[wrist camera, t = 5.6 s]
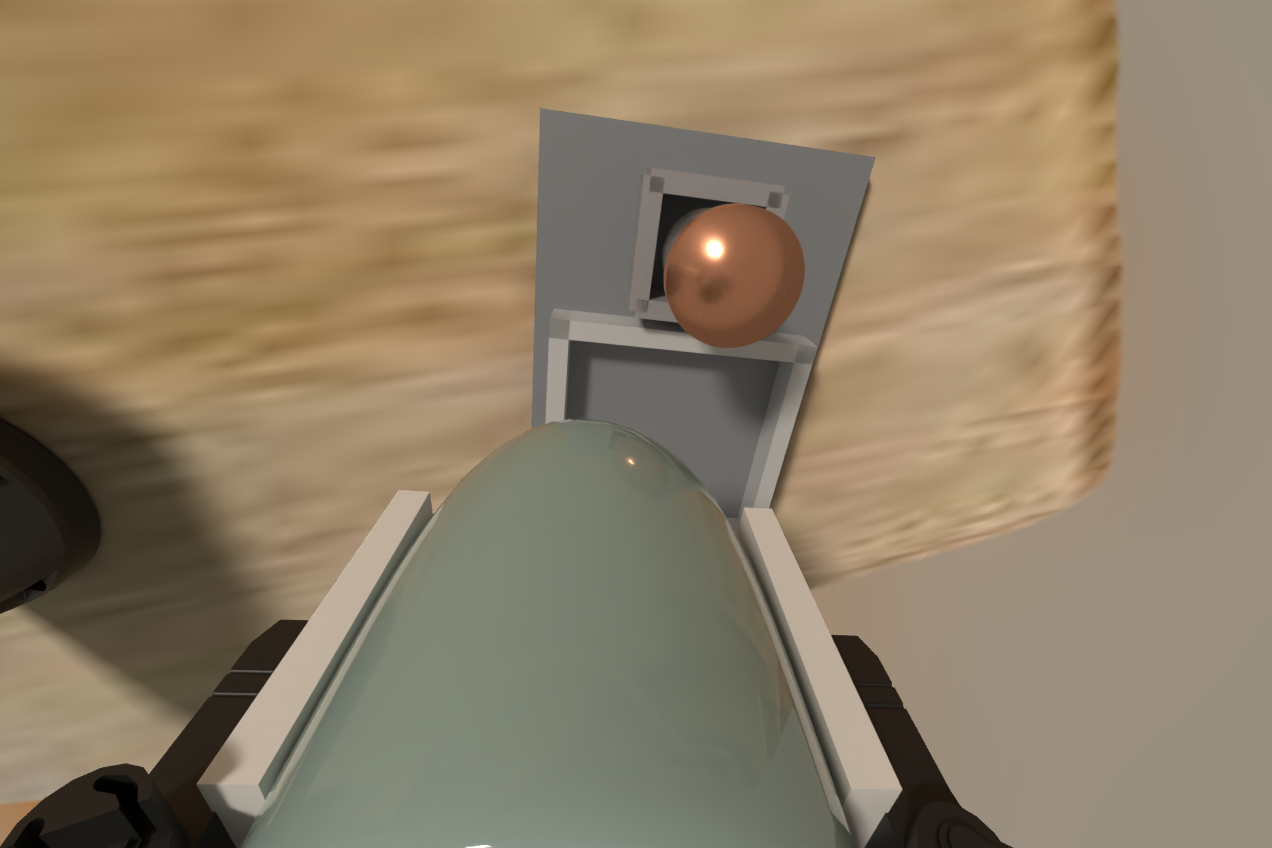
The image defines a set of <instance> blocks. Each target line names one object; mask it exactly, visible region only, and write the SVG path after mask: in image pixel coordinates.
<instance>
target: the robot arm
mask: <svg viewBox="0 0 1272 848" xmlns="http://www.w3.org/2000/svg"><path fill="white" fill-rule="evenodd" d="M432 516H433V513H432V505H431V497H430V492H423V491H402V490H398V492H397V493H396V495H395V496H394V498H393V499H392V501H391V502H390V504H389V505H388V506H387V508H386V509H385V511H384V512H383V514H382V515H381V517H380V518H379V519H378V521H377V522H376V524H375V525H374V527H373V528H372V530H371V531H370V533H369V534H368V535H367V537H366V538H365V540H364V541H363V543H362V544H361V546H360V547H359V549H358V550H357V551H356V553H355V554H354V556H353V557H352V559H351V560H350V562H349V563H348V565H347V566H346V567H345V569H344V570H343V572H342V573H341V575H340V576H339V578H338V579H337V581H336V582H335V583H334V585H333V586H332V588H331V589H330V591H329V592H328V594H327V595H326V597H325V598H324V599H323V601H322V602H321V604H320V605H319V607H318V608H317V610H316V611H315V612H314V614H313V615H312V617H311V618H310V620H280V621H278V622H277V623H276V624H274V625H273V626H272V627H271V628H269V629H268V630H267V631H265V632H264V633H263V634H262V635H260V636H259V637H258V638H256V639H255V640H254V641H253V642H252V643H251V644H250V645H249V646H248V648H247V649H246V650H245V652H244V653H243V654H242V655H241V657H240V658H239V659H238V661H237V662H236V663H235V664H234V666H233V667H232V668H231V672H230V674H227V675H226V676H225V677H224V679H223V680H222V681H221V682H220V684H219V685H218V686H217V688H216V689H215V690H214V694H213V696H212V697H209V698H208V699H207V700H206V702H205V703H204V704H203V705H202V707H201V708H200V709H199V711H198V712H197V713H196V714H195V716H194V717H193V718H192V720H191V721H190V722H189V723H188V725H187V726H186V727H185V729H184V730H183V731H182V732H181V734H180V735H179V736H178V738H177V739H176V740H175V741H174V743H173V744H172V745H171V747H170V748H169V749H168V750H167V752H166V753H165V754H164V756H163V757H162V758H161V759H160V761H159V762H158V763H157V765H156V766H155V767H154V768H153V770H152V771H151V772H150V774H148V773H147V772H146V770H145V769H144V768H143V767H140V766H135V765H131V764H126V763H125V764H120V765H114V766H108V767H103V768H100V769H97V770H95V771H93V772H90V773H88V774H86V775H83V776H81V777H79V778H76V779H74V780H72V781H71V782H69V783H68V784H66V785H65V786H63V787H61V788H60V789H58V790H57V791H55V792H54V793H52V794H51V795H49V796H48V797H46V798H45V799H43V800H42V801H41V802H40V803H39V804H38V805H37V806H36V807H35V808H33V809H32V810H31V811H30V812H29V813H28V814H27V815H26V816H25V817H24V818H22V819H21V820H20V821H19V822H18V823H17V824H16V826H15V827H14V828H13V830H12V831H11V833H10V834H9V835H8V837H7V838H6V839H5V841H4V842H3V844H2V845H1V846H0V848H240V847H241V845H242V843H243V841H244V840H245V838H246V836H247V834H248V832H249V830H250V828H251V826H252V824H253V822H254V820H255V818H256V817H257V815H258V813H259V811H260V809H261V807H262V805H263V804H264V802H265V800H266V798H267V796H268V794H269V793H270V791H271V789H272V787H273V785H274V783H275V782H276V780H277V778H278V776H279V774H280V772H281V771H282V769H283V767H284V765H285V763H286V761H287V760H288V758H289V756H290V754H291V752H292V751H293V749H294V747H295V745H296V743H297V742H298V740H299V738H300V736H301V734H302V733H303V731H304V729H305V727H306V725H307V724H308V722H309V720H310V718H311V716H312V715H313V713H314V711H315V709H316V707H317V706H318V704H319V702H320V700H321V698H322V697H323V695H324V693H325V691H326V690H327V688H328V686H329V684H330V682H331V681H332V679H333V677H334V675H335V673H336V672H337V670H338V668H339V666H340V664H341V663H342V661H343V659H344V657H345V656H346V654H347V652H348V650H349V649H350V647H351V645H352V643H353V642H354V640H355V638H356V636H357V635H358V633H359V631H360V629H361V628H362V626H363V624H364V622H365V620H366V619H367V617H368V615H369V613H370V612H371V610H372V608H373V607H374V605H375V603H376V602H377V600H378V598H379V597H380V595H381V593H382V592H383V590H384V588H385V587H386V585H387V583H388V582H389V580H390V578H391V576H392V575H393V573H394V572H395V570H396V569H397V567H398V565H399V564H400V562H401V561H402V559H403V558H404V556H405V554H406V553H407V551H408V550H409V548H410V547H411V545H412V544H413V542H414V541H415V539H416V538H417V536H418V535H419V534H420V532H421V531H422V529H423V528H424V527H425V525H426V524H427V522H428V521H429V520H430V518H431V517H432ZM737 536H738V538H739V541H740V543H741V545H742V547H743V549H744V551H745V553H746V555H747V557H748V559H749V561H750V564H751V566H752V568H753V571H754V573H755V575H756V578H757V580H758V582H759V585H760V587H761V589H762V592H763V594H764V597H765V599H766V602H767V604H768V607H769V609H770V612H771V615H772V617H773V620H774V622H775V625H776V627H777V630H778V633H779V635H780V638H781V641H782V643H783V646H784V649H785V651H786V654H787V657H788V659H789V662H790V665H791V667H792V670H793V673H794V676H795V678H796V681H797V684H798V687H799V689H800V692H801V695H802V698H803V700H804V703H805V706H806V709H807V711H808V714H809V717H810V720H811V723H812V725H813V728H814V731H815V734H816V736H817V739H818V742H819V745H820V747H821V750H822V753H823V756H824V759H825V761H826V764H827V767H828V770H829V773H830V776H831V778H832V781H833V784H834V787H835V790H836V793H837V795H838V798H839V801H840V804H841V807H842V810H843V813H844V816H845V819H846V822H847V825H848V828H849V831H850V834H851V837H852V840H853V843H854V846H855V848H1013V847H1011V846H1008V845H1006V844H1004V843H1002V842H1000V840H999V839H998V837H997V836H996V835H995V833H994V832H993V831H992V830H990V829H989V828H988V827H987V826H986V825H985V824H984V823H983V822H982V821H981V820H980V819H979V818H978V817H977V816H975V815H973V814H972V813H970V812H968V811H966V810H965V809H963V808H962V807H961V806H960V805H959V803H958V802H957V800H956V798H955V797H954V795H953V794H952V792H951V791H950V789H949V787H948V785H947V784H946V782H945V780H944V778H943V776H942V774H941V772H940V771H939V769H938V767H937V765H936V763H935V761H934V760H933V758H932V756H931V754H930V752H929V750H928V748H927V747H926V745H925V743H924V741H923V739H922V737H921V735H920V734H919V732H918V730H917V728H916V726H915V724H914V723H913V721H912V719H911V717H910V715H909V713H908V711H907V710H906V709H904V707H903V702H902V701H901V699H900V697H899V695H898V693H897V691H896V689H895V688H893V687H892V682H891V680H890V678H889V676H888V675H887V673H886V671H885V669H884V667H883V665H882V664H881V662H880V660H879V658H878V657H877V656H876V655H875V654H874V653H873V652H872V651H871V650H870V648H868V646H867V645H866V644H865V643H864V642H863V641H862V640H861V639H860V638H859V637H858V636H848V635H830V632H829V630H828V628H827V626H826V624H825V622H824V620H823V617H822V615H821V613H820V611H819V609H818V607H817V605H816V603H815V600H814V598H813V596H812V594H811V592H810V589H809V587H808V585H807V583H806V581H805V579H804V577H803V574H802V572H801V570H800V568H799V566H798V564H797V562H796V559H795V557H794V555H793V553H792V551H791V549H790V547H789V544H788V542H787V540H786V538H785V536H784V534H783V531H782V529H781V527H780V525H779V523H778V521H777V519H776V516H775V514H774V512H773V510H772V509H767V508H747V507H744V508H743V513H742V517H741V521H740V526H739V530H738V534H737ZM98 542H99V524H98V520H97V516H96V513H95V510H94V508H93V505H92V503H91V501H90V500H89V498H88V496H87V494H86V493H85V491H84V490H83V488H82V487H81V485H80V484H79V483H78V481H77V480H76V479H75V478H74V476H73V475H72V474H71V473H70V472H69V471H68V470H67V469H66V468H65V467H64V466H63V465H62V464H61V463H60V462H59V461H58V460H57V459H56V458H55V457H54V456H53V455H51V454H50V453H49V452H48V451H47V450H45V449H44V448H43V447H42V446H40V445H39V444H38V443H36V442H35V441H34V440H32V439H31V438H29V437H28V436H26V435H25V434H23V433H22V432H20V431H18V430H17V429H15V428H14V427H12V426H10V425H8V424H7V423H5V422H3V421H1V420H0V614H1V613H4V612H6V611H8V610H11V609H13V608H15V607H18V606H20V605H22V604H24V603H27V602H30V601H32V600H34V599H36V598H39V597H41V596H43V595H44V594H46V593H48V592H50V591H51V590H53V589H54V588H56V587H57V586H58V585H60V584H61V583H62V582H64V581H65V580H67V579H68V578H69V577H71V576H72V575H73V574H75V573H76V572H77V571H79V570H80V569H81V568H83V567H84V566H85V565H86V564H87V563H88V562H89V561H90V560H91V558H92V557H93V555H94V554H95V551H96V549H97V546H98Z"/></svg>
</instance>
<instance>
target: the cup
mask: <svg viewBox="0 0 1272 848" xmlns="http://www.w3.org/2000/svg"><path fill="white" fill-rule="evenodd" d="M240 848H855V846H854V843H853V840H852V837H851V834H850V831H849V828H848V825H847V822H846V819H845V816H844V813H843V810H842V807H841V804H840V801H839V798H838V795H837V793H836V790H835V787H834V784H833V781H832V778H831V776H830V773H829V770H828V767H827V764H826V761H825V759H824V756H823V753H822V750H821V747H820V745H819V742H818V739H817V736H816V734H815V731H814V728H813V725H812V723H811V720H810V717H809V714H808V711H807V709H806V706H805V703H804V700H803V698H802V695H801V692H800V689H799V687H798V684H797V681H796V678H795V676H794V673H793V670H792V667H791V665H790V662H789V659H788V657H787V654H786V651H785V649H784V646H783V643H782V641H781V638H780V635H779V633H778V630H777V627H776V625H775V622H774V620H773V617H772V615H771V612H770V609H769V607H768V604H767V602H766V599H765V597H764V594H763V592H762V589H761V587H760V585H759V582H758V580H757V578H756V575H755V573H754V571H753V568H752V566H751V564H750V561H749V559H748V557H747V555H746V553H745V551H744V549H743V547H742V545H741V543H740V541H739V538H738V536H737V534H736V533H735V531H734V529H733V527H732V526H731V524H730V522H729V521H728V519H727V517H726V515H725V514H724V512H723V511H722V509H721V507H720V506H719V504H718V503H717V501H716V500H715V498H714V497H713V495H712V493H711V492H710V491H709V489H708V488H707V487H706V485H705V484H704V483H703V481H702V480H701V479H700V478H699V477H698V476H697V475H696V474H695V473H694V472H693V471H692V470H691V469H690V467H689V466H688V465H687V464H686V463H685V462H684V461H683V460H681V459H680V458H679V457H678V456H677V455H676V454H675V453H673V452H672V451H670V450H669V449H668V448H666V447H665V446H663V445H662V444H661V443H659V442H658V441H657V440H655V439H654V438H651V437H649V436H647V435H645V434H643V433H641V432H639V431H637V430H635V429H633V428H631V427H628V426H624V425H621V424H617V423H613V422H610V421H606V420H597V419H585V418H575V419H568V420H560V421H553V422H550V423H547V424H544V425H541V426H538V427H535V428H533V429H530V430H527V431H525V432H524V433H522V434H520V435H518V436H517V437H515V438H513V439H512V440H510V441H508V442H506V443H505V444H503V445H501V446H500V447H498V448H497V449H495V450H494V451H493V452H491V453H490V454H489V455H488V456H487V457H486V458H484V459H483V460H482V461H481V462H480V463H479V464H477V465H476V466H475V467H474V468H473V469H472V470H471V471H470V472H469V473H468V474H467V475H466V476H465V477H464V478H463V479H462V480H461V481H460V482H459V483H458V484H457V486H456V487H455V488H454V489H453V491H452V492H451V493H450V494H449V496H448V497H447V498H446V499H445V501H444V502H443V503H442V504H441V506H440V507H439V508H438V509H437V511H436V512H435V513H434V514H433V516H432V517H431V518H430V520H429V521H428V522H427V524H426V525H425V527H424V528H423V529H422V531H421V532H420V534H419V535H418V536H417V538H416V539H415V541H414V542H413V544H412V545H411V547H410V548H409V550H408V551H407V553H406V554H405V556H404V558H403V559H402V561H401V562H400V564H399V565H398V567H397V569H396V570H395V572H394V573H393V575H392V576H391V578H390V580H389V582H388V583H387V585H386V587H385V588H384V590H383V592H382V593H381V595H380V597H379V598H378V600H377V602H376V603H375V605H374V607H373V608H372V610H371V612H370V613H369V615H368V617H367V619H366V620H365V622H364V624H363V626H362V628H361V629H360V631H359V633H358V635H357V636H356V638H355V640H354V642H353V643H352V645H351V647H350V649H349V650H348V652H347V654H346V656H345V657H344V659H343V661H342V663H341V664H340V666H339V668H338V670H337V672H336V673H335V675H334V677H333V679H332V681H331V682H330V684H329V686H328V688H327V690H326V691H325V693H324V695H323V697H322V698H321V700H320V702H319V704H318V706H317V707H316V709H315V711H314V713H313V715H312V716H311V718H310V720H309V722H308V724H307V725H306V727H305V729H304V731H303V733H302V734H301V736H300V738H299V740H298V742H297V743H296V745H295V747H294V749H293V751H292V752H291V754H290V756H289V758H288V760H287V761H286V763H285V765H284V767H283V769H282V771H281V772H280V774H279V776H278V778H277V780H276V782H275V783H274V785H273V787H272V789H271V791H270V793H269V794H268V796H267V798H266V800H265V802H264V804H263V805H262V807H261V809H260V811H259V813H258V815H257V817H256V818H255V820H254V822H253V824H252V826H251V828H250V830H249V832H248V834H247V836H246V838H245V840H244V841H243V843H242V845H241V847H240Z"/></svg>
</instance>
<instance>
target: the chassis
mask: <svg viewBox="0 0 1272 848" xmlns="http://www.w3.org/2000/svg"><path fill="white" fill-rule="evenodd" d="M874 161H875V157H870V156H863V155H856V154H849V153H842V152H836V151H829V150H822V149H815V148H808V147H801V146H795V145H788V144H781V143H774V142H767V141H760V140H754V139H747V138H740V137H733V136H726V135H719V134H713V133H706V132H699V131H692V130H685V129H678V128H672V127H665V126H658V125H651V124H644V123H637V122H631V121H624V120H617V119H610V118H603V117H596V116H590V115H583V114H576V113H569V112H562V111H555V110H549V109H542V108H540V142H539V179H538V216H537V254H536V291H535V328H534V365H533V403H532V429H533V428H535V427H538V426H541V425H544V424H547V423H550V422H553V421H560V420H568V419H575V418H585V419H597V420H606V421H610V422H613V423H617V424H621V425H624V426H628V427H631V428H633V429H635V430H637V431H639V432H641V433H643V434H645V435H647V436H649V437H651V438H654V439H655V440H657V441H658V442H659V443H661V444H662V445H663V446H665V447H666V448H668V449H669V450H670V451H672V452H673V453H675V454H676V455H677V456H678V457H679V458H680V459H681V460H683V461H684V462H685V463H686V464H687V465H688V466H689V467H690V469H691V470H692V471H693V472H694V473H695V474H696V475H697V476H698V477H699V478H700V479H701V480H702V481H703V483H704V484H705V485H706V487H707V488H708V489H709V491H710V492H711V493H712V495H713V497H714V498H715V500H716V501H717V503H718V504H719V506H720V507H721V509H722V511H723V512H724V514H725V515H726V517H727V519H728V521H729V522H730V524H731V526H732V527H733V529H734V531H735V533H736V534H738V530H739V526H740V521H741V517H742V513H743V508H744V507H747V508H767V509H770V505H771V502H772V499H773V495H774V492H775V489H776V485H777V482H778V479H779V475H780V472H781V469H782V465H783V462H784V459H785V456H786V452H787V449H788V446H789V442H790V439H791V436H792V432H793V429H794V426H795V422H796V419H797V416H798V412H799V409H800V406H801V403H802V399H803V396H804V393H805V389H806V386H807V383H808V379H809V376H810V373H811V369H812V366H813V363H814V359H815V356H816V353H817V349H818V346H819V343H820V340H821V336H822V333H823V330H824V326H825V323H826V320H827V316H828V313H829V310H830V306H831V303H832V300H833V296H834V293H835V290H836V286H837V283H838V280H839V277H840V273H841V270H842V267H843V263H844V260H845V257H846V253H847V250H848V247H849V243H850V240H851V237H852V233H853V230H854V227H855V224H856V220H857V217H858V214H859V210H860V207H861V204H862V200H863V197H864V194H865V190H866V187H867V184H868V180H869V177H870V174H871V170H872V167H873V164H874ZM733 203H737V204H747V205H752V206H756V207H761V208H763V209H766V210H769V211H771V212H772V213H774V214H776V215H778V216H779V217H780V218H781V219H783V220H784V221H785V222H786V223H787V224H788V225H789V226H790V227H791V229H792V230H793V231H794V233H795V234H796V236H797V238H798V240H799V242H800V245H801V248H802V251H803V255H804V261H805V276H804V283H803V288H802V291H801V294H800V297H799V300H798V302H797V304H796V306H795V308H794V309H793V311H792V313H791V314H790V316H789V317H788V318H787V319H786V321H785V322H784V323H783V324H782V325H781V326H780V327H779V328H778V329H777V330H775V331H774V332H773V333H772V334H770V335H769V336H767V337H765V338H764V339H762V340H760V341H758V342H756V343H753V344H750V345H747V346H742V347H736V348H720V347H715V346H711V345H708V344H705V343H703V342H701V341H698V340H697V339H695V338H694V337H692V336H691V335H690V334H688V333H687V332H686V331H685V330H684V329H683V328H682V327H681V325H680V324H679V323H678V321H677V320H676V318H675V317H674V315H673V312H672V310H671V308H670V306H669V304H668V301H667V298H666V295H665V289H664V278H663V276H664V269H663V265H662V248H663V244H664V241H665V238H666V236H667V234H668V232H669V230H670V229H671V227H672V226H673V225H674V223H675V222H676V221H677V220H678V219H679V218H681V217H682V216H683V215H685V214H686V213H688V212H690V211H693V210H695V209H699V208H705V207H712V208H713V207H716V206H720V205H724V204H733Z"/></svg>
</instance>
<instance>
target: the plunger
mask: <svg viewBox="0 0 1272 848" xmlns="http://www.w3.org/2000/svg"><path fill="white" fill-rule="evenodd" d="M662 265H663V269H664V276H663V278H664V289H665V295H666V298H667V301H668V304H669V306H670V308H671V310H672V312H673V315H674V317H675V318H676V320H677V321H678V323H679V324H680V325H681V327H682V328H683V329H684V330H685V331H686V332H687V333H688V334H690V335H691V336H692V337H694V338H695V339H697V340H698V341H701V342H703V343H705V344H708V345H711V346H715V347H720V348H736V347H742V346H747V345H750V344H753V343H756V342H758V341H760V340H762V339H764V338H765V337H767V336H769V335H770V334H772V333H773V332H774V331H775V330H777V329H778V328H779V327H780V326H781V325H782V324H783V323H784V322H785V321H786V319H787V318H788V317H789V316H790V314H791V313H792V311H793V309H794V308H795V306H796V304H797V302H798V300H799V297H800V294H801V291H802V288H803V283H804V276H805V261H804V255H803V251H802V248H801V245H800V242H799V240H798V238H797V236H796V234H795V233H794V231H793V230H792V229H791V227H790V226H789V225H788V224H787V223H786V222H785V221H784V220H783V219H781V218H780V217H779V216H778V215H776V214H774V213H772V212H771V211H769V210H766V209H763V208H761V207H756V206H752V205H747V204H737V203H733V204H724V205H720V206H716V207H713V208H712V207H705V208H699V209H695V210H693V211H690V212H688V213H686V214H685V215H683V216H682V217H681V218H679V219H678V220H677V221H676V222H675V223H674V225H673V226H672V227H671V229H670V230H669V232H668V234H667V236H666V238H665V241H664V244H663V248H662Z"/></svg>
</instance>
